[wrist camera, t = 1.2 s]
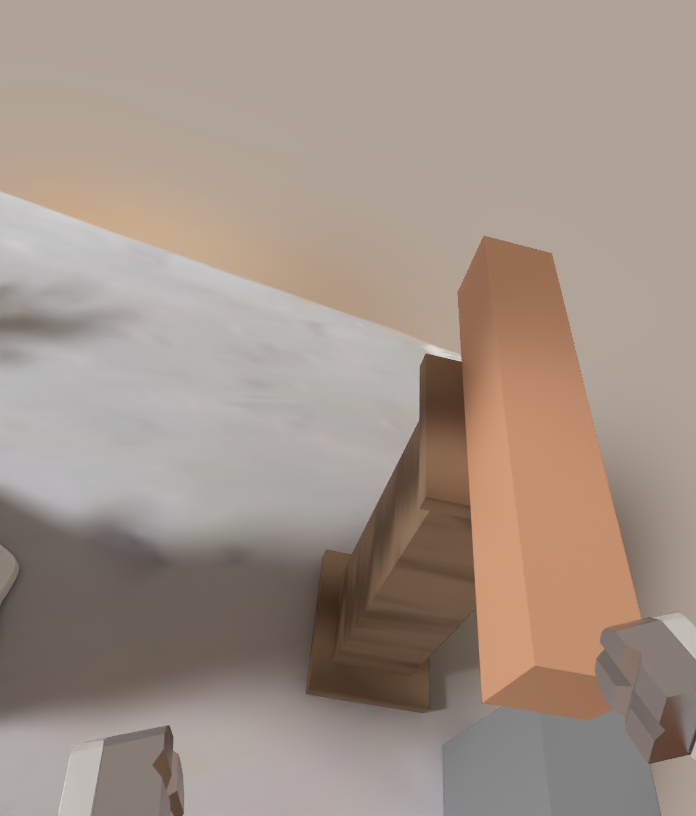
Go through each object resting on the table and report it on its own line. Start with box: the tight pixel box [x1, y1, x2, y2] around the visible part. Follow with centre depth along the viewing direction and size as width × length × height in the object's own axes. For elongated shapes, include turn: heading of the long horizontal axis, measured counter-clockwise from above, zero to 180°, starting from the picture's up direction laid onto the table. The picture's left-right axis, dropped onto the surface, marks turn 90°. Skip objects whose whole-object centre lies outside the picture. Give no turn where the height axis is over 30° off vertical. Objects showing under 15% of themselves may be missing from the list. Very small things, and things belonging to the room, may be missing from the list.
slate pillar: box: [443, 706, 661, 816], centre depth 37 cm, size 7×6×15 cm
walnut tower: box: [306, 354, 477, 713], centre depth 39 cm, size 11×9×26 cm
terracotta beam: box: [458, 236, 641, 721], centre depth 27 cm, size 23×4×4 cm, turn 175°
